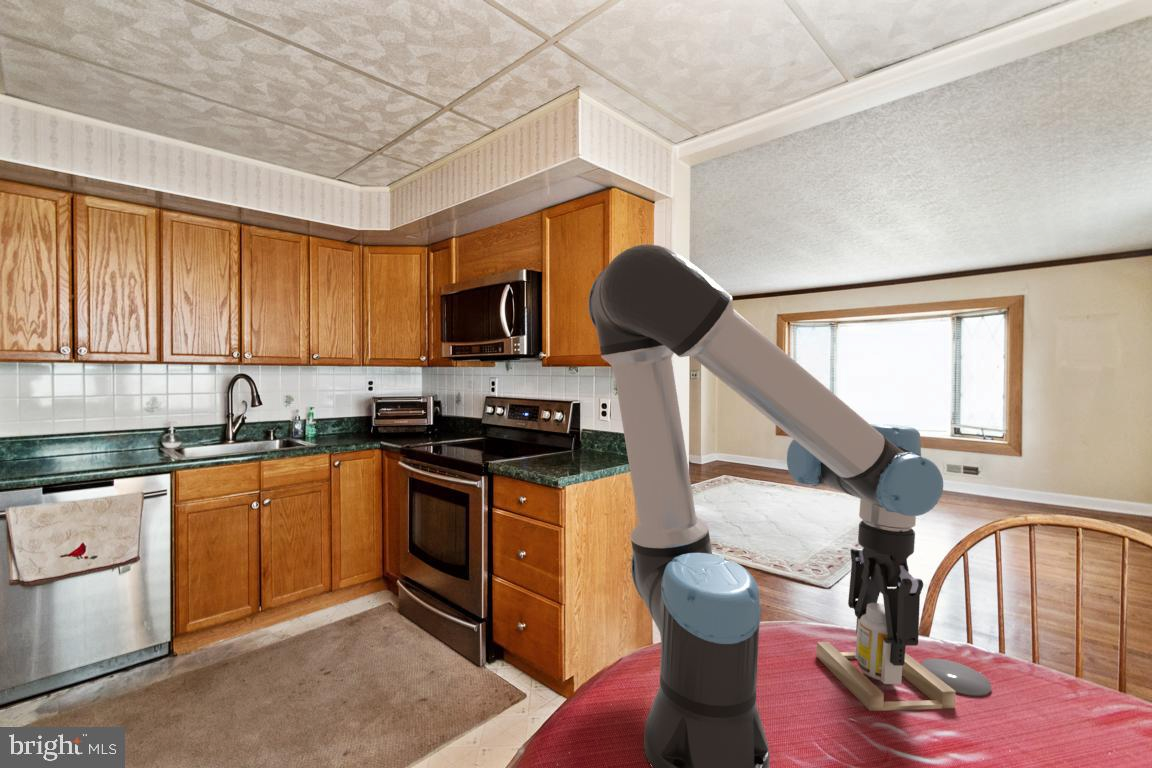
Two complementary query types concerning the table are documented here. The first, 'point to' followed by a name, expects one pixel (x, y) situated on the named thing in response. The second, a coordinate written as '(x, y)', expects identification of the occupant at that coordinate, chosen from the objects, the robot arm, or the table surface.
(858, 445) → the robot arm
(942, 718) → the table surface
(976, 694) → the coaster
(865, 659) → the supplement bottle
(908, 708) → the open wooden frame
